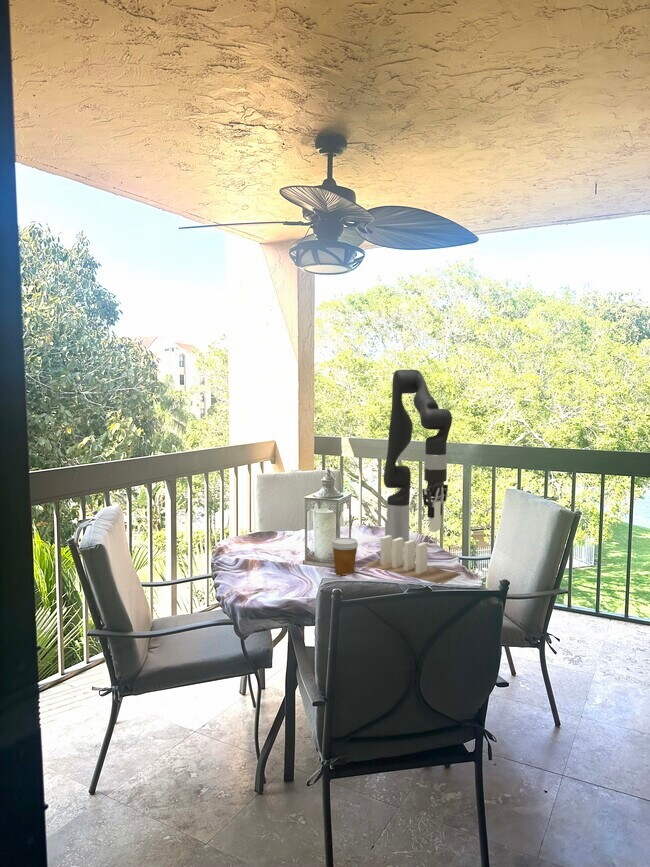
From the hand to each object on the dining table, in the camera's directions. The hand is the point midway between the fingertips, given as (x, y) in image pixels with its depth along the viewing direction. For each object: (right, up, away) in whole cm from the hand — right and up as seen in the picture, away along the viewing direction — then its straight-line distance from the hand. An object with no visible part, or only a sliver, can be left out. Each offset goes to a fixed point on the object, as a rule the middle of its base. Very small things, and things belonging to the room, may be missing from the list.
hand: (434, 516), depth 196 cm
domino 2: (-12, -20, +11) cm, 26 cm away
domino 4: (-4, -20, +5) cm, 21 cm away
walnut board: (-7, -21, +8) cm, 23 cm away
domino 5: (0, -5, 0) cm, 5 cm away
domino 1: (-15, -20, +15) cm, 29 cm away
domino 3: (-8, -20, +8) cm, 23 cm away
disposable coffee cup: (-31, -22, +6) cm, 38 cm away
